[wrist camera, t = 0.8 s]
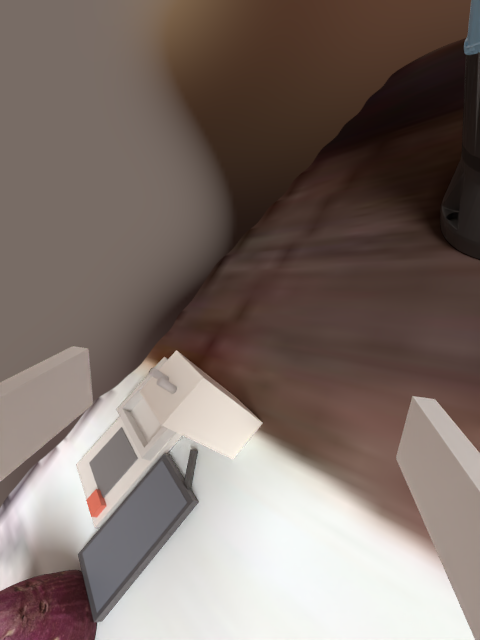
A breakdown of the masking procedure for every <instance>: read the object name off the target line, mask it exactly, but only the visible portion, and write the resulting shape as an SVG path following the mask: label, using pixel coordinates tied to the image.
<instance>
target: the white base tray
mask: <svg viewBox="0 0 480 640" xmlns="http://www.w3.org/2000/svg"><path fill="white" fill-rule="evenodd" d="M167 360H168V359H167V358H166V357H163V359H162V360H161V361H160V362H159V363H158V364H157V365H156V366H155V367H154V368H156V369H157V370H159V369H160V368H161V367H162V365H163V364H164V363H165V362H166V361H167ZM152 377H153V376H151V375H150V374H148V375H147V376H146V377H145V378H144V379H143V380H142V382H141V383H140V384H139V385H138V386H137V387H136V388H135V389H134V390H133V391H132V393H131V394H130V395H129V396H128V397H127V398H126V399H125V400H124V401H123V402H122V404H121V405H120V406H119V407H118V408H117V409H116V410H117V412H118V413H119V415H120V417H119V418H118V419H117V420H116V421H115V422H114V423H113V424H112V426H111V427H110V428H109V429H108V430H107V431H106V432H105V433H104V434H103V435H102V437H101V438H100V439H99V440H98V441H97V442H96V443H95V444H94V445H93V447H92V448H91V449H90V450H89V451H88V452H87V453H86V454H85V455H84V456H83V458H82V459H81V460H80V461H79V462H78V463H77V464H76V466H77V469H78V473H79V476H80V479H81V483H82V486H83V490H84V493H85V496H86V501H87V504H88V507H89V511H90V514H91V517H92V520H93V523H94V526H95V528H101V527H102V526H103V525H104V523H105V522H106V521H107V520H108V519H109V518H110V516H111V515H112V514H113V513H114V512H115V511H116V509H117V508H118V507H119V506H120V505H121V504H122V502H123V501H124V500H125V499H126V498H127V497H128V495H129V494H130V493H131V492H132V491H133V490H134V488H135V487H136V486H137V485H138V484H139V483H140V481H141V480H142V479H143V478H144V477H145V476H146V474H147V473H148V472H149V471H150V470H151V469H152V467H153V466H154V465H155V464H156V463H157V462H158V460H159V459H160V458H161V457H162V456H163V455H164V453H165V454H167V453H168V452H169V451H170V450H171V448H172V447H173V446H174V445H175V444H176V443H177V441H178V440H179V439H180V438H181V437H182V435H180V434H178V433H176V432H174V431H172V430H170V429H168V428H166V427H164V426H162V425H161V424H160V422H159V421H158V419H157V418H156V416H155V415H154V413H153V412H152V410H151V409H150V407H149V406H148V404H147V403H146V401H145V399H144V398H143V396H142V395H141V393H140V392H139V391H140V390H141V389H142V388H143V386H144V385H145V384H146V383H147V382H148V381H149V380H150V379H151V378H152Z"/></svg>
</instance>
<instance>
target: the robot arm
mask: <svg viewBox="0 0 480 640" xmlns="http://www.w3.org/2000/svg"><path fill="white" fill-rule="evenodd" d="M464 52H465V54H466V67H465V89H464V111H463V133H462V154H461V160H460V162H459V164H458V166H457V169H456V171H455V173H454V175H453V178H452V180H451V182H450V184H449V187H448V189H447V191H446V193H445V196H444V198H443V200H442V204H441V210H440V226H441V231H442V233H443V235H444V237H445V239H446V240H447V241H448V242H449V243H450V244H451V245H452V246H453V247H455V248H456V249H458V250H459V251H461V252H463V253H465V254H467V255H470V256H472V257H475V258H478V259H480V0H471V10H470V19H469V28H468V36H467V38H466V40H465V43H464ZM92 405H93V397H92V386H91V374H90V361H89V349H88V348H81V347H74V346H72V347H70V348H68V349H66V350H64V351H62V352H60V353H58V354H56V355H54V356H52V357H51V358H48V359H46V360H44V361H42V362H41V363H38V364H36V365H34V366H32V367H30V368H28V369H26V370H24V371H22V372H20V373H19V374H16V375H14V376H12V377H10V378H8V379H6V380H4V381H3V382H0V481H2V480H3V479H4V478H5V477H6V476H8V475H9V474H10V473H11V472H12V471H13V470H15V469H16V468H17V467H18V466H20V465H21V464H22V463H23V462H24V461H25V460H27V459H28V458H29V457H30V456H31V455H33V454H34V453H35V452H36V451H38V450H39V449H40V448H41V447H42V446H43V445H45V444H46V443H47V442H48V441H50V440H51V438H53V437H54V436H55V435H57V434H58V433H59V432H60V431H62V430H63V429H64V428H65V427H66V426H67V425H69V424H70V423H71V422H72V421H73V420H75V419H76V418H77V417H78V416H79V415H81V414H82V413H83V412H84V411H86V410H87V409H88V408H89V407H90V406H92ZM396 459H397V462H398V464H399V466H400V468H401V471H402V473H403V475H404V478H405V480H406V482H407V484H408V487H409V489H410V491H411V494H412V496H413V498H414V500H415V503H416V505H417V507H418V510H419V512H420V514H421V517H422V519H423V521H424V523H425V526H426V528H427V530H428V533H429V535H430V537H431V539H432V542H433V544H434V546H435V549H436V551H437V553H438V555H439V558H440V560H441V562H442V565H443V567H444V569H445V572H446V574H447V576H448V578H449V581H450V583H451V585H452V588H453V590H454V592H455V594H456V597H457V599H458V601H459V604H460V606H461V608H462V610H463V613H464V615H465V617H466V620H467V622H468V624H469V627H470V629H471V631H472V633H473V636H474V638H475V640H480V453H479V452H478V451H477V449H476V448H475V447H474V446H473V445H472V443H471V442H470V441H469V440H468V439H467V437H466V436H465V435H464V434H463V432H462V431H461V430H460V429H459V428H458V426H457V425H456V424H455V423H454V422H453V420H452V419H451V418H450V417H449V416H448V414H447V413H446V412H445V411H444V410H443V408H442V407H441V406H440V405H439V403H438V402H437V401H436V400H435V399H429V398H422V397H415V396H412V400H411V404H410V407H409V411H408V415H407V419H406V422H405V426H404V430H403V434H402V437H401V441H400V445H399V449H398V452H397V456H396Z"/></svg>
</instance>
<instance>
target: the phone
mask: <svg viewBox="0 0 480 640" xmlns="http://www.w3.org/2000/svg"><path fill="white" fill-rule="evenodd" d="M184 481H185V479H184V478H183V476H182V475H181V473H180V471H179V470H178V468H177V466H176V465H175V463H174V462H173V460H172V458H171V457H170V455H167V454H165V453H164V455H163V456H162V457H161V458H160V459H159V460H158V462H157V463H156V464H155V465H154V466H153V467H152V469H151V470H150V471H149V472H148V473H147V474H146V476H145V477H144V478H143V479H142V480H141V481H140V483H139V484H138V485H137V486H136V487H135V488H134V490H133V491H132V492H131V493H130V494H129V495H128V497H127V498H126V499H125V500H124V501H123V502H122V504H121V505H120V506H119V507H118V508H117V509H116V511H115V512H114V513H113V514H112V515H111V516H110V518H109V519H108V520H107V521H106V522H105V523H104V525H103V526H102V527H101V528H100V529H99V530H98V532H97V533H96V534H95V535H94V536H93V537H92V539H91V540H90V541H89V542H88V543H87V544H86V546H85V547H84V548H83V549H82V550H81V552H80V553H79V554H78V557H79V561H80V565H81V569H82V574H83V578H84V582H85V586H86V591H87V595H88V599H89V603H90V608H91V612H92V616H93V620H94V622H100V621H103V619H104V618H105V617H106V616H107V615H108V613H109V612H110V611H111V610H112V608H113V607H114V606H115V605H116V603H117V602H118V601H119V600H120V598H121V597H122V596H123V595H124V594H125V592H126V591H127V590H128V589H129V587H130V586H131V585H132V584H133V582H134V581H135V580H136V579H137V578H138V576H139V575H140V574H141V573H142V571H143V570H144V569H145V568H146V566H147V565H148V564H149V563H150V561H151V560H152V559H153V558H154V557H155V555H156V554H157V553H158V552H159V550H160V549H161V548H162V547H163V545H164V544H165V543H166V542H167V540H168V539H169V538H170V537H171V536H172V534H173V533H174V532H175V531H176V529H177V528H178V527H179V526H180V524H181V523H182V522H183V521H184V520H185V518H186V517H187V516H188V515H189V513H190V512H191V511H192V510H193V508H194V507H195V506H196V505H197V503H198V500H197V499H196V497H195V495H194V494H193V492H192V491H191V489H188V488H187V487H186V485H185V484H184Z"/></svg>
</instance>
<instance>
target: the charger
mask: <svg viewBox="0 0 480 640" xmlns="http://www.w3.org/2000/svg"><path fill="white" fill-rule="evenodd" d="M149 374H150V375H151V376H153V377H152V378H151V379H150V380H149V381H148V382H147V383H146V384H145V385H144V386H143V388H142V389H141V390H140V391H139V392H140V393H141V395H142V396H143V398H144V399H145V401H146V403H147V404H148V406H149V407H150V409H151V410H152V412H153V413H154V415H155V416H156V418H157V419H158V421H159V422H160V424H161V425H162V426H164V427H166V428H168V429H170V430H172V431H174V432H176V433H178V434H180V435H182V436H185V437H187V438H189V439H191V440H193V441H195V442H197V443H199V444H201V445H203V446H205V447H208V448H210V449H212V450H214V451H216V452H218V453H220V454H222V455H224V456H226V457H228V458H231V459H234V458H235V457H236V456H237V454H238V453H239V452H240V451H241V449H242V448H243V447H244V446H245V445H246V443H247V442H248V441H249V440H250V438H251V437H252V436H253V435H254V433H255V432H256V431H257V430H258V428H259V427H260V426H261V425H262V424H263V423H262V422H261V421H260V420H259V419H258V418H257V417H256V416H255V415H254V414H253V413H252V412H251V411H250V410H249V409H248V408H247V407H246V406H245V405H244V404H243V403H241V402H240V401H239V400H238V399H237V398H236V397H235V396H234V395H232V394H231V393H230V392H229V391H227V390H226V389H225V388H224V387H222V386H221V385H220V384H219V383H217V382H216V381H215V380H213V379H212V378H211V377H210V376H208V375H207V374H206V373H205V372H203V371H202V370H201V369H200V368H198V367H197V366H196V365H194V364H193V363H192V362H191V361H189V360H188V359H187V358H186V357H184V356H183V355H182V354H181V353H179V352H178V351H177V350H176V351H175V352H174V353H173V354H172V356H171V357H170V358H169V359H168V360H167V361H166V362H165V363H164V364H163V365H162V367H161V368H160V369H159V370H157V369H156V368H151V369H150V371H149Z"/></svg>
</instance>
